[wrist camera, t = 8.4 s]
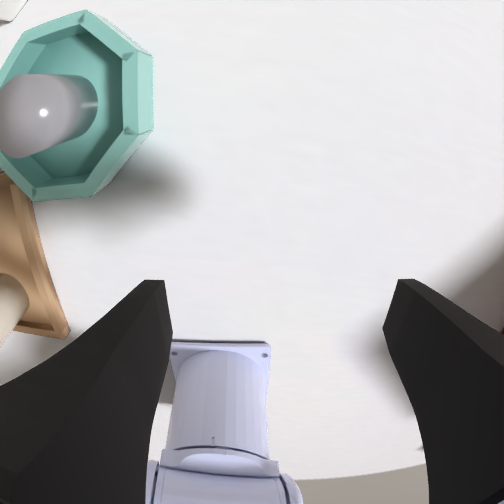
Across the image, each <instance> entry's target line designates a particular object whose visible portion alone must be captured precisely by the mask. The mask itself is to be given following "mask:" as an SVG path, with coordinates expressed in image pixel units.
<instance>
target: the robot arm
mask: <svg viewBox="0 0 504 504" xmlns="http://www.w3.org/2000/svg"><path fill="white" fill-rule="evenodd" d="M383 332H384V335H385V339H386V343H387V346H388V349H389V352H390V355H391V358H392V360H393V362H394V365H395V367H396V369H397V371H398V374H399V376H400V378H401V381H402V383H403V385H404V387H405V390H406V392H407V395H408V397H409V399H410V402H411V404H412V406H413V409H414V412H415V415H416V418H417V422H418V426H419V430H420V434H421V438H422V442H423V448H424V453H425V459H426V465H427V473H428V484H429V504H504V335H503V334H501V333H499V332H498V331H496V330H494V329H493V328H491V327H489V326H488V325H486V324H485V323H483V322H481V321H480V320H478V319H477V318H475V317H474V316H472V315H471V314H469V313H468V312H466V311H465V310H463V309H462V308H460V307H459V306H457V305H456V304H454V303H453V302H451V301H450V300H448V299H447V298H445V297H444V296H442V295H441V294H439V293H438V292H436V291H434V290H433V289H431V288H430V287H428V286H426V285H425V284H423V283H421V282H419V281H417V280H415V279H398V282H397V285H396V289H395V292H394V295H393V298H392V302H391V305H390V308H389V311H388V314H387V317H386V320H385V323H384V325H383ZM172 335H173V331H172V325H171V320H170V314H169V308H168V302H167V295H166V289H165V282H164V280H144V281H143V282H141V283H140V284H139V285H138V286H137V287H135V288H134V289H133V290H132V291H131V292H130V293H129V294H128V295H127V296H126V297H124V298H123V299H122V300H121V301H120V302H119V303H118V304H117V305H116V306H114V307H113V308H112V309H111V310H110V311H109V312H108V313H107V314H106V315H104V316H103V317H102V318H101V319H100V320H99V321H97V322H96V323H95V324H94V325H92V326H91V327H90V328H89V329H88V330H86V331H85V332H84V333H83V334H82V335H80V336H79V337H78V338H77V339H76V340H74V341H73V342H72V343H70V344H69V345H68V346H66V347H65V348H63V349H62V350H61V351H59V352H58V353H56V354H55V355H53V356H52V357H50V358H49V359H47V360H46V361H44V362H43V363H41V364H39V365H38V366H36V367H34V368H33V369H31V370H29V371H27V372H26V373H24V374H22V375H21V376H19V377H17V378H15V379H13V380H11V381H9V382H7V383H5V384H3V385H1V386H0V504H303V499H302V495H301V492H300V489H299V487H298V485H297V484H296V483H295V482H294V481H293V479H292V478H291V477H290V476H289V475H287V474H284V473H279V463H278V461H273V460H270V454H269V440H268V426H267V412H266V401H267V391H268V381H269V371H270V361H271V346H270V345H269V344H228V343H190V342H172ZM264 353H266V354H264ZM169 357H170V361H171V366H172V370H173V374H174V378H175V382H176V387H175V393H174V399H173V404H172V410H171V416H170V422H169V429H168V435H167V441H166V448H165V449H163V450H162V454H161V460H160V466H159V461H154V460H150V461H149V462H148V453H149V444H150V435H151V429H152V424H153V419H154V415H155V411H156V407H157V404H158V400H159V396H160V392H161V388H162V385H163V381H164V377H165V373H166V369H167V366H168V362H169Z"/></svg>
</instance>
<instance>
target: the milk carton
mask: <svg viewBox="0 0 504 504" xmlns="http://www.w3.org/2000/svg"><path fill="white" fill-rule="evenodd" d="M27 1H28V0H0V20H5V21H13V20H14V18H15V17H16V16H17V14H18V13H19V12H20V10H21V9H22V7H23V6H24V5H25V3H26V2H27Z"/></svg>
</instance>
